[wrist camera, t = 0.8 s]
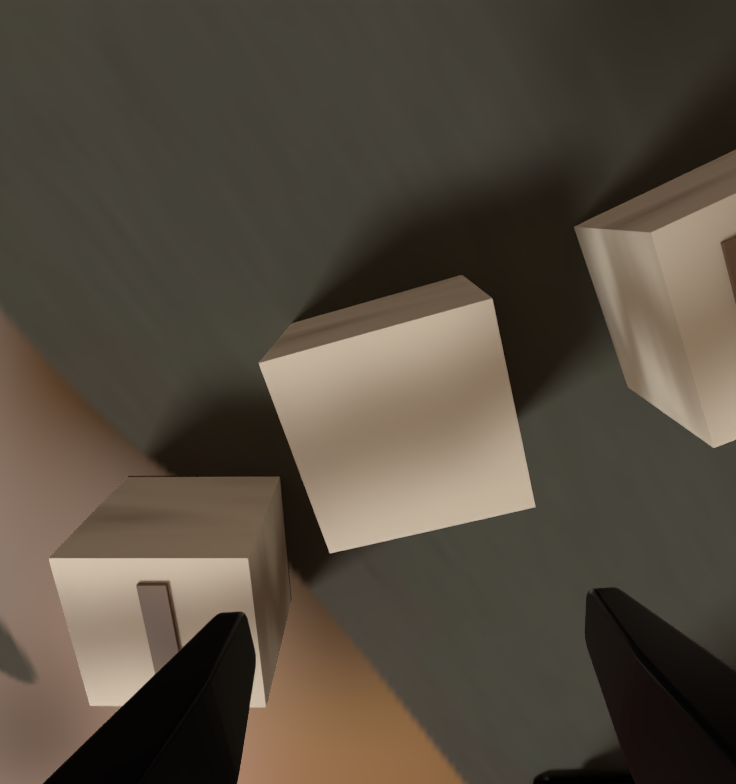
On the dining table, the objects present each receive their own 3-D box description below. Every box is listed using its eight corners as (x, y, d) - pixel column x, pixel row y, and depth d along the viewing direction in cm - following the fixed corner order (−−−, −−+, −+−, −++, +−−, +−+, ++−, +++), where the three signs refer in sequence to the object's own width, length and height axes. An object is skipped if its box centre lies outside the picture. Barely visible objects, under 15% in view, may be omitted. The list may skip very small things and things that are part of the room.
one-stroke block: (291, 599, 22) (265, 710, 17) (153, 598, 22) (88, 709, 17) (280, 475, 20) (246, 560, 15) (128, 475, 20) (45, 561, 15)
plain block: (497, 432, 19) (535, 507, 14) (342, 470, 19) (329, 553, 15) (461, 274, 17) (492, 298, 12) (291, 322, 17) (258, 362, 13)
